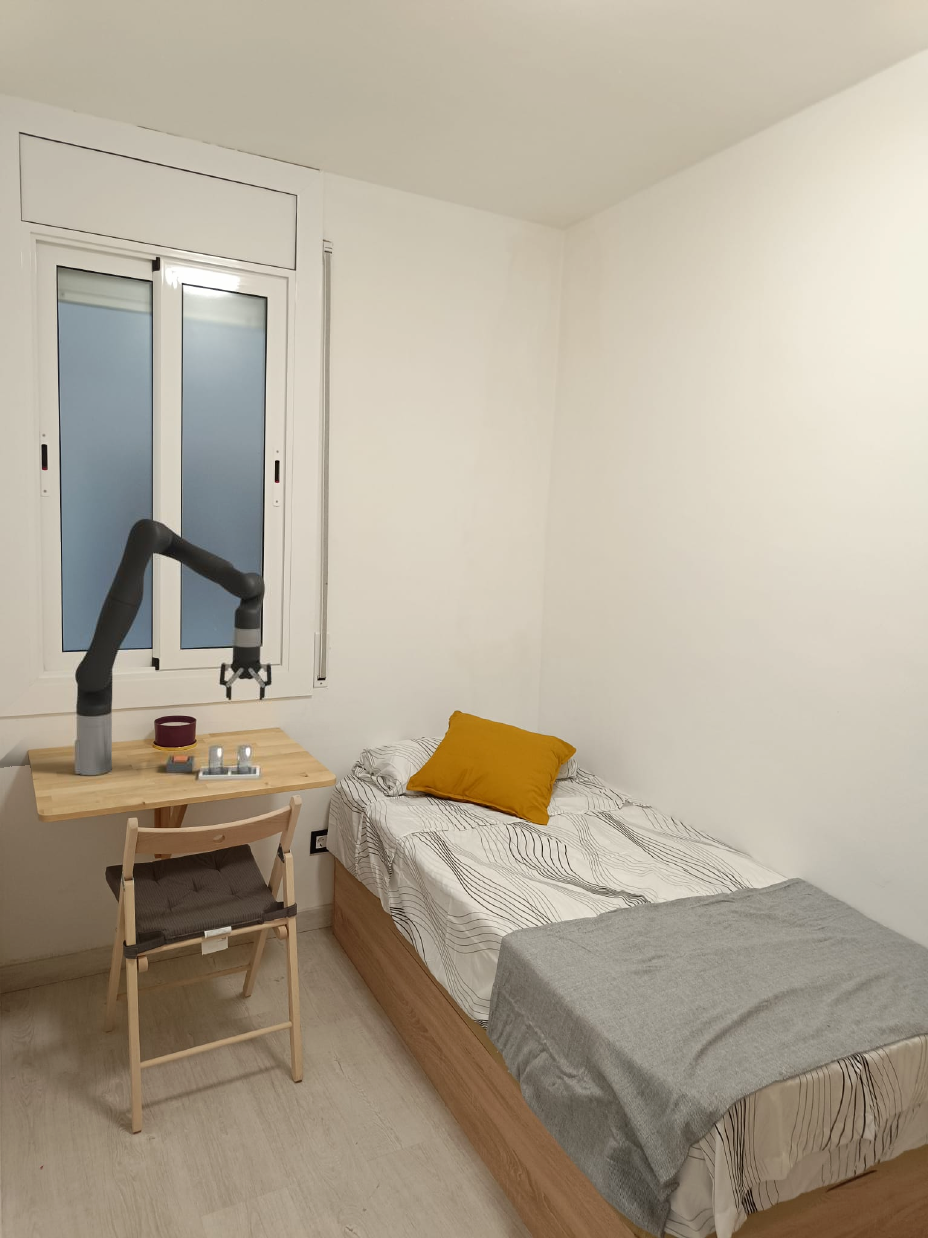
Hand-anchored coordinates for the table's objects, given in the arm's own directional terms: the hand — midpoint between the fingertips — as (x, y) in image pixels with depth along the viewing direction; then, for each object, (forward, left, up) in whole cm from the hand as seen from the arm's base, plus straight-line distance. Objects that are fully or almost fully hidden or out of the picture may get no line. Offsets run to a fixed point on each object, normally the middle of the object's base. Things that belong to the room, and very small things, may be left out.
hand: (245, 699), depth 238 cm
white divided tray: (-4, 0, -23) cm, 24 cm away
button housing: (-18, +6, -23) cm, 30 cm away
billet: (0, 0, -22) cm, 22 cm away
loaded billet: (-8, 0, -22) cm, 23 cm away
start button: (-18, +6, -21) cm, 28 cm away
